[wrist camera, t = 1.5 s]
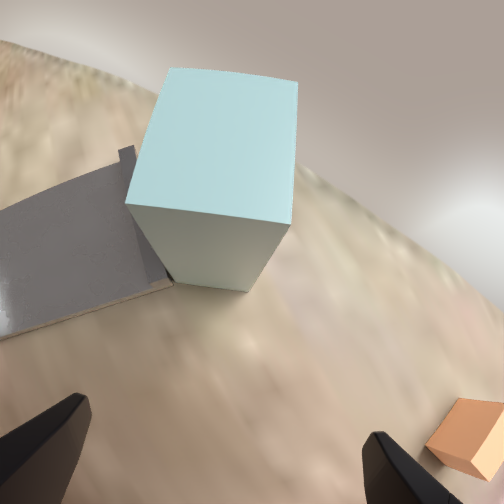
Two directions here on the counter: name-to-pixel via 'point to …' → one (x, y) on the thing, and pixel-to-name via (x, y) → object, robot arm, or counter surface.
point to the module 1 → (217, 175)
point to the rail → (74, 251)
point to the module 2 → (471, 438)
